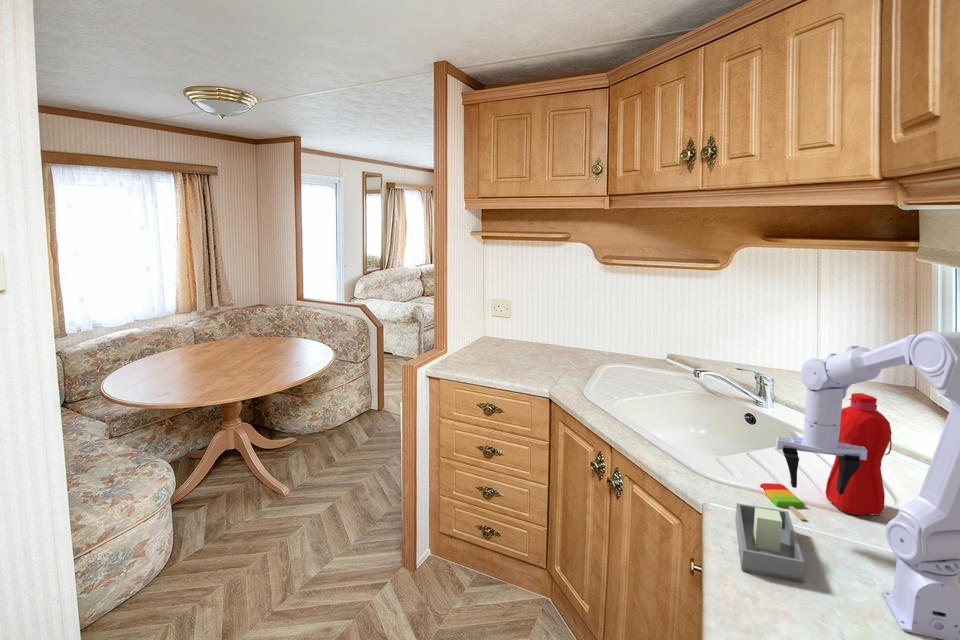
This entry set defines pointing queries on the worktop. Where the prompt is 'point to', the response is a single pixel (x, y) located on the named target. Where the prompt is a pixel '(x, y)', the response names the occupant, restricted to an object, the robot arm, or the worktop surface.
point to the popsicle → (782, 497)
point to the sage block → (767, 529)
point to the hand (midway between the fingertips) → (816, 488)
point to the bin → (764, 561)
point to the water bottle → (866, 483)
